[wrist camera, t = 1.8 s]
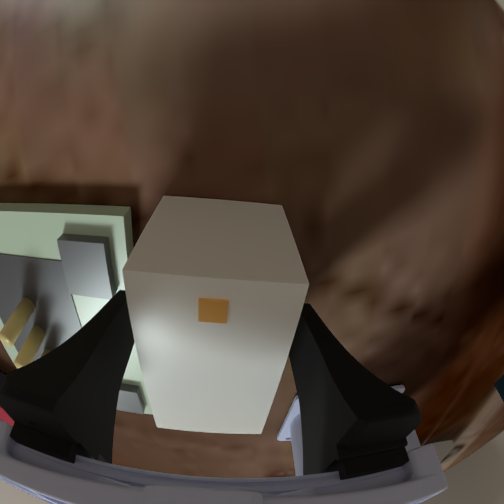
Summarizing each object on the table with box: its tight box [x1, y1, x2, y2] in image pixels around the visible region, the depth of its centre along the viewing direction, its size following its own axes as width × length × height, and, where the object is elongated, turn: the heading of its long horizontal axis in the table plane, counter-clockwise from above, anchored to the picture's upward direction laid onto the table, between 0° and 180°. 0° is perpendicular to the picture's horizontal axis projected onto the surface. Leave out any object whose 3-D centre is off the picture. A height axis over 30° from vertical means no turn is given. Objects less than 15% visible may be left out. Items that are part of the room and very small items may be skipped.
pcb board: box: [0, 203, 153, 414], centre depth 14 cm, size 12×16×4 cm
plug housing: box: [122, 196, 309, 434], centre depth 12 cm, size 5×9×6 cm, turn 173°
